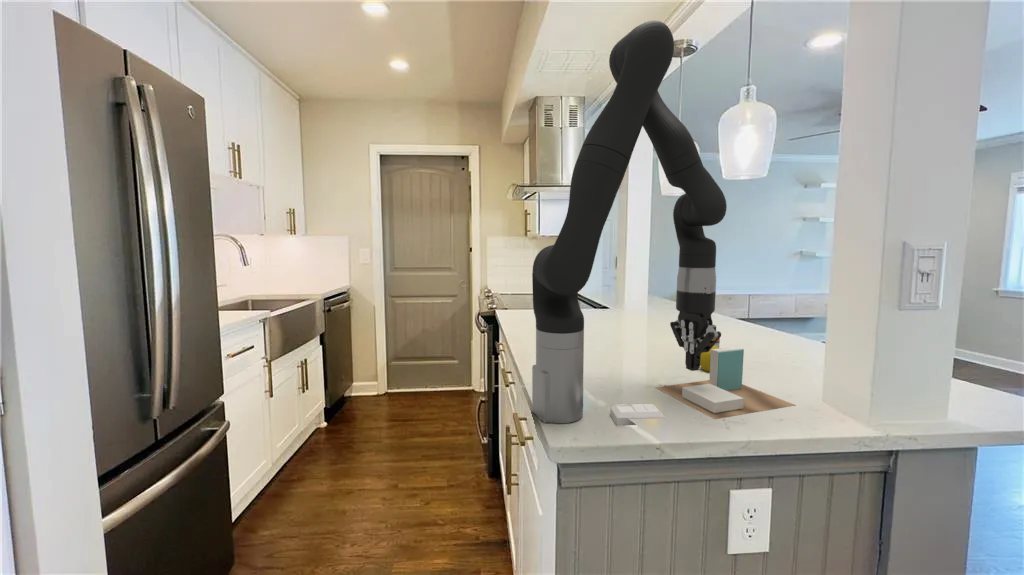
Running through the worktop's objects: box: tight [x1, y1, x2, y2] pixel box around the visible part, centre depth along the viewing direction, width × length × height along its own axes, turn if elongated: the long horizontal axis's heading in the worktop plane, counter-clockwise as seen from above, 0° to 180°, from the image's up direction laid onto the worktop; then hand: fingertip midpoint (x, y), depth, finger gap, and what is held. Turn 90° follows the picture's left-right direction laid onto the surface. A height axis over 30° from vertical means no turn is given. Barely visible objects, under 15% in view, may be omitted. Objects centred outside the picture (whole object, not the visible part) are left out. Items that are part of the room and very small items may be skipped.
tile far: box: [708, 346, 745, 391], centre depth 96 cm, size 7×2×9 cm, turn 108°
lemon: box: [700, 345, 720, 373], centre depth 110 cm, size 6×6×8 cm
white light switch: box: [609, 403, 666, 426], centre depth 84 cm, size 5×9×3 cm, turn 92°
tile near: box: [682, 384, 744, 414], centre depth 88 cm, size 7×2×9 cm
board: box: [654, 379, 796, 420], centre depth 93 cm, size 20×18×1 cm
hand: (692, 369), depth 93 cm, fingers closed
